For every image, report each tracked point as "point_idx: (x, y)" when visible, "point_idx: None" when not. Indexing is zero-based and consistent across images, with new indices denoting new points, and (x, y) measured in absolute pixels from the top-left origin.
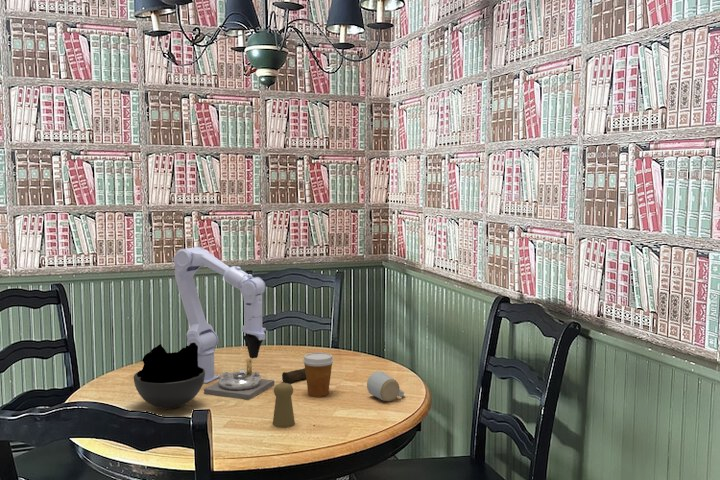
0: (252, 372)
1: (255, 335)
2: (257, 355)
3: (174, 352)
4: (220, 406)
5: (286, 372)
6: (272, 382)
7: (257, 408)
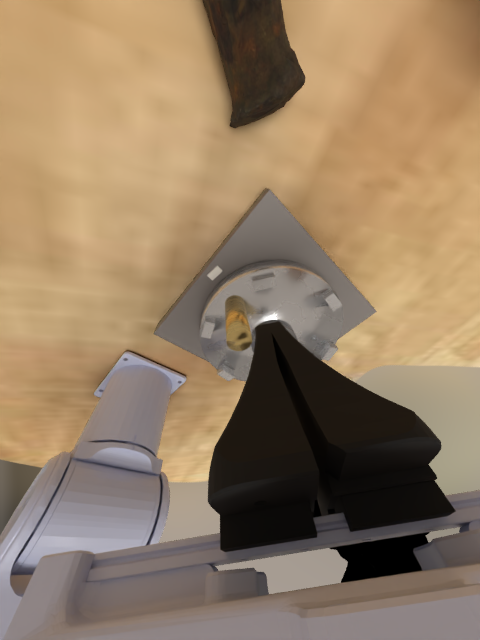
0: (222, 291)
1: (434, 530)
2: (285, 329)
3: (336, 549)
4: (364, 359)
5: (279, 90)
6: (280, 202)
7: (444, 293)
